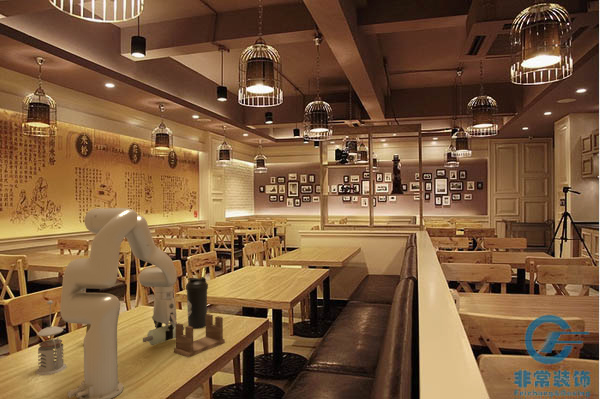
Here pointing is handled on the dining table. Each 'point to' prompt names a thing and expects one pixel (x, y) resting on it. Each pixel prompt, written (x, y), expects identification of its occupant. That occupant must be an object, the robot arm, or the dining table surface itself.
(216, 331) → the holder
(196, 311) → the water bottle
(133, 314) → the dining table surface
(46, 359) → the french press
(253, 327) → the dining table surface
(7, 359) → the dining table surface
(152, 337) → the roll
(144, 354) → the dining table surface
